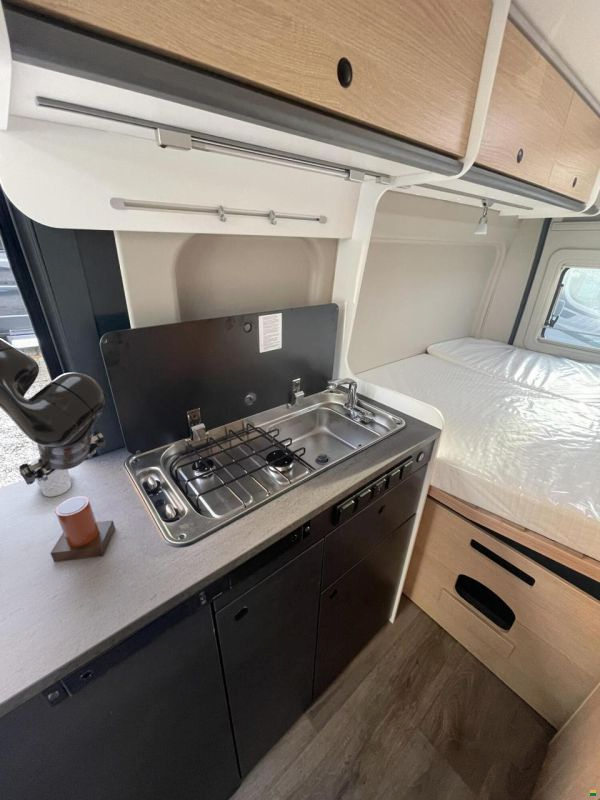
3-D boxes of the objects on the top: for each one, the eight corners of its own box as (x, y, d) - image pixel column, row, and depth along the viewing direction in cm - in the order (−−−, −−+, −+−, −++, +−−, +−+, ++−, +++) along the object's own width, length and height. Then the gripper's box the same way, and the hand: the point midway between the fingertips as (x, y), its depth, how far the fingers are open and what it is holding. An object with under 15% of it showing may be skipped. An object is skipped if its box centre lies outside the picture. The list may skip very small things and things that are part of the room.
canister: (61, 548, 72) (49, 517, 68) (74, 527, 77) (63, 496, 73) (92, 544, 73) (81, 513, 69) (103, 523, 78) (93, 494, 74)
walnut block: (55, 565, 72) (50, 553, 70) (72, 537, 79) (67, 525, 78) (104, 559, 74) (100, 547, 72) (116, 532, 81) (112, 520, 79)
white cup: (39, 502, 90) (27, 472, 86) (42, 485, 96) (31, 457, 92) (73, 492, 94) (63, 464, 89) (74, 477, 100) (64, 449, 96)
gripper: (95, 407, 62) (91, 434, 74) (3, 445, 53) (16, 468, 65) (117, 440, 62) (109, 461, 74) (29, 484, 52) (37, 500, 65)
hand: (66, 464), depth 69 cm, fingers open, 8 cm apart
